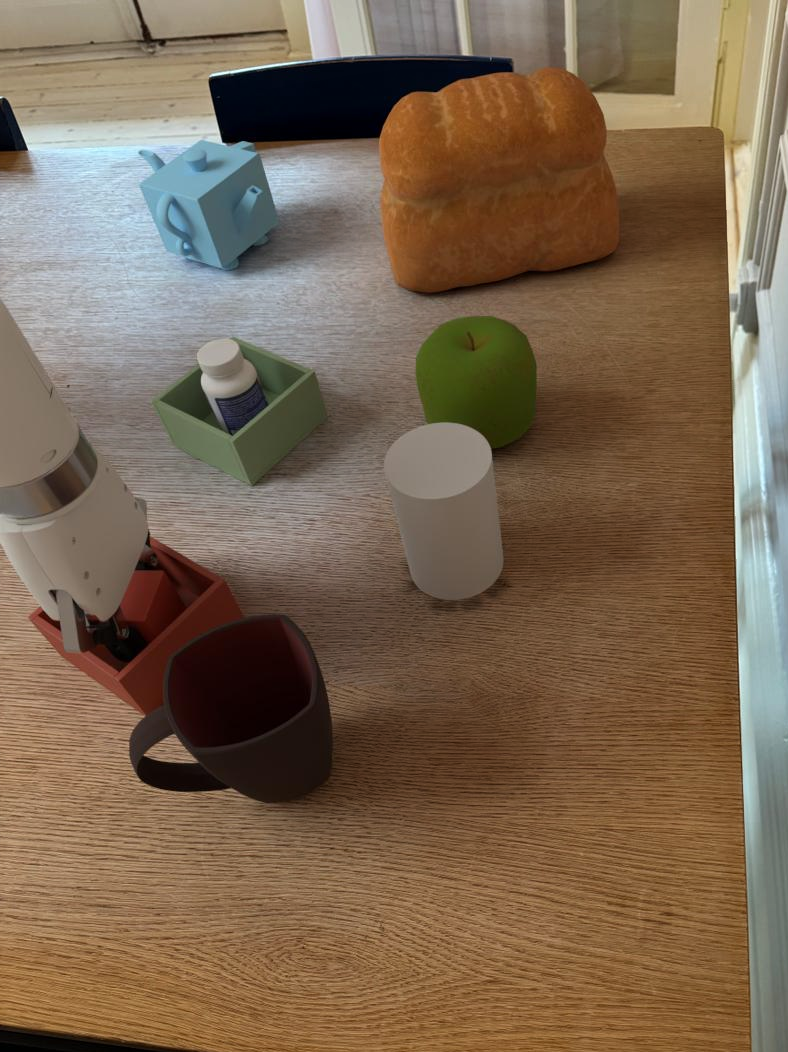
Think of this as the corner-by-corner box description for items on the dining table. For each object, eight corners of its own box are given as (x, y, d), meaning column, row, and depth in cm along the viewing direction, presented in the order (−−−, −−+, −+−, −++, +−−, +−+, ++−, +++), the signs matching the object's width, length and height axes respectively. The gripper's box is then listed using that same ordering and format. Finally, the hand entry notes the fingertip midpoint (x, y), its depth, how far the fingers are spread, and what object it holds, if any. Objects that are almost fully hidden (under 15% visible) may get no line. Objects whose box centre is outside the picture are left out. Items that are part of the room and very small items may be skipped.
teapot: (238, 298, 102) (204, 202, 92) (129, 263, 108) (87, 170, 99) (321, 227, 109) (296, 132, 100) (213, 198, 115) (181, 106, 106)
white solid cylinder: (518, 541, 76) (509, 435, 67) (479, 611, 72) (463, 510, 63) (435, 517, 79) (414, 413, 69) (393, 584, 75) (364, 483, 65)
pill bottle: (285, 419, 88) (258, 343, 80) (249, 451, 85) (219, 377, 78) (246, 402, 90) (217, 327, 83) (211, 434, 88) (177, 359, 80)
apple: (464, 484, 81) (449, 389, 72) (405, 423, 87) (384, 327, 78) (562, 431, 84) (559, 333, 75) (498, 375, 89) (489, 278, 81)
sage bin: (172, 445, 88) (150, 401, 83) (250, 381, 93) (233, 336, 88) (251, 486, 84) (232, 442, 79) (329, 416, 88) (315, 371, 84)
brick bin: (61, 656, 74) (27, 617, 69) (159, 568, 79) (133, 525, 74) (149, 719, 70) (118, 681, 65) (247, 621, 74) (225, 579, 70)
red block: (112, 655, 72) (83, 619, 68) (131, 606, 75) (105, 569, 71) (169, 657, 71) (144, 621, 67) (187, 608, 74) (164, 570, 70)
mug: (373, 794, 64) (335, 711, 54) (188, 871, 62) (114, 799, 52) (334, 689, 69) (293, 596, 60) (163, 756, 67) (92, 671, 58)
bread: (628, 263, 98) (636, 97, 84) (398, 307, 98) (366, 148, 84) (593, 192, 107) (595, 32, 93) (382, 232, 107) (352, 77, 93)
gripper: (32, 383, 63) (137, 549, 78) (-75, 566, 54) (68, 716, 69) (130, 382, 62) (218, 550, 77) (38, 568, 53) (158, 720, 67)
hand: (146, 627), depth 73 cm, fingers closed on red block, 5 cm apart
